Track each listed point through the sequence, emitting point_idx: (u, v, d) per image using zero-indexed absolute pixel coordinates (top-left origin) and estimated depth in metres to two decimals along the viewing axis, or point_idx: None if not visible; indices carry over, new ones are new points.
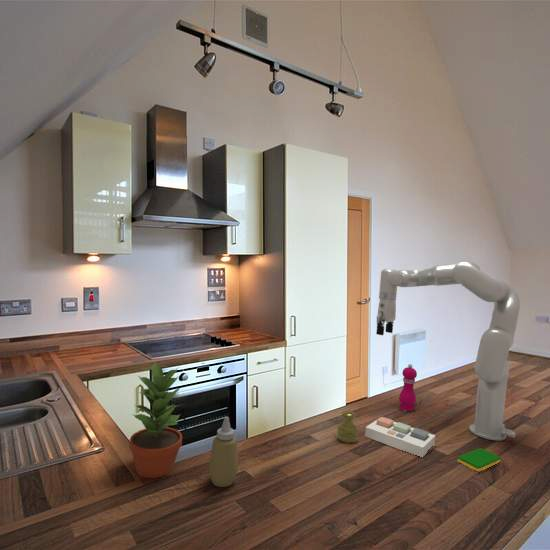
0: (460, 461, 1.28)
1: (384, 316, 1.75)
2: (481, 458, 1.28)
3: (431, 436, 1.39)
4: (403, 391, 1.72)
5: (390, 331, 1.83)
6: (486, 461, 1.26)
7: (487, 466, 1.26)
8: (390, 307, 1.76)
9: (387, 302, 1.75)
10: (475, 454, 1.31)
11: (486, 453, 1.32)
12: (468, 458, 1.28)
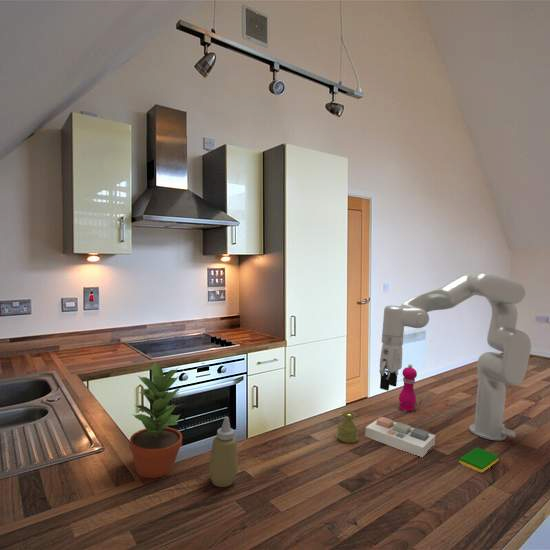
0: (462, 462, 1.27)
1: (388, 365, 1.40)
2: (481, 458, 1.28)
3: (431, 436, 1.39)
4: (403, 391, 1.72)
5: (393, 384, 1.47)
6: (487, 461, 1.27)
7: (488, 466, 1.26)
8: (395, 354, 1.42)
9: (392, 348, 1.40)
10: (475, 454, 1.31)
11: (484, 453, 1.32)
12: (469, 459, 1.27)
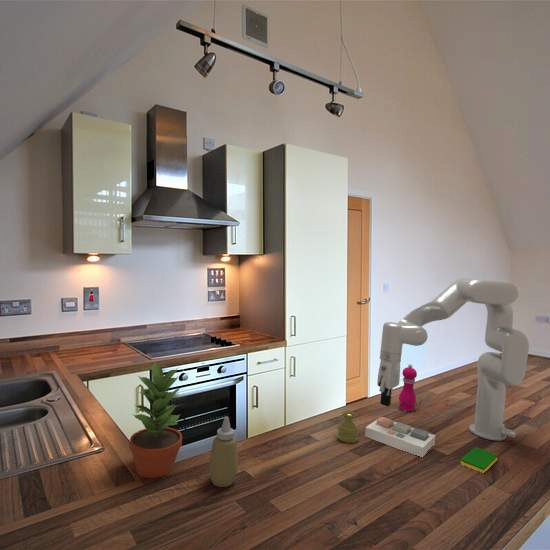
0: (463, 463, 1.26)
1: (386, 382, 1.41)
2: (482, 458, 1.28)
3: (431, 436, 1.39)
4: (403, 391, 1.72)
5: None
6: (487, 461, 1.27)
7: (489, 466, 1.26)
8: (393, 371, 1.42)
9: (390, 365, 1.41)
10: (474, 454, 1.31)
11: (484, 452, 1.32)
12: (470, 459, 1.27)
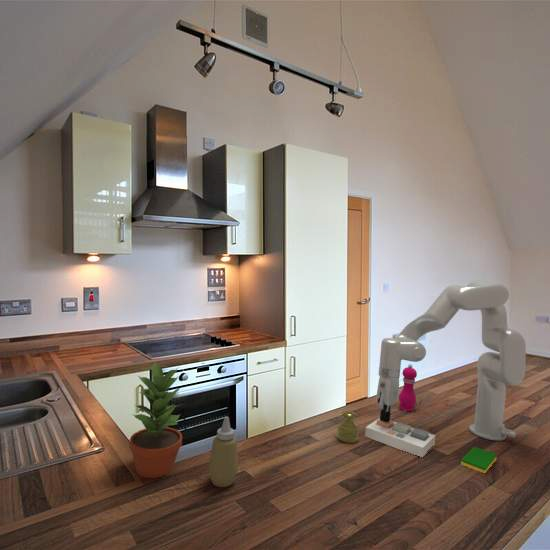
0: (464, 464, 1.26)
1: (385, 399, 1.41)
2: (482, 458, 1.28)
3: (431, 436, 1.39)
4: (403, 391, 1.72)
5: None
6: (488, 461, 1.27)
7: (489, 466, 1.26)
8: (392, 387, 1.42)
9: (389, 382, 1.41)
10: (474, 454, 1.31)
11: (483, 452, 1.33)
12: (471, 460, 1.27)
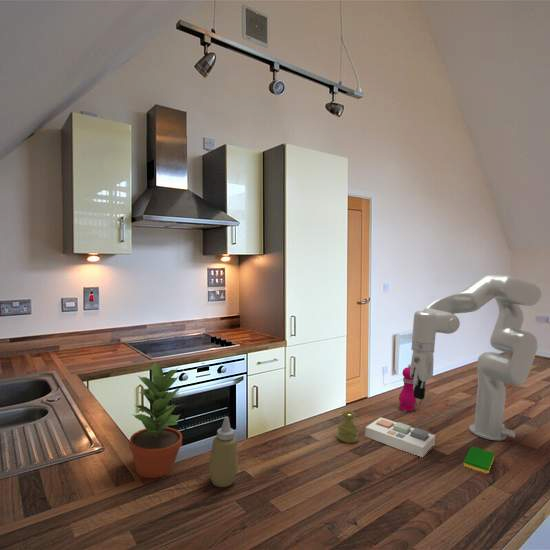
0: (467, 465, 1.25)
1: (419, 374, 1.33)
2: (482, 458, 1.28)
3: (431, 436, 1.39)
4: (403, 391, 1.72)
5: None
6: (488, 461, 1.27)
7: (490, 466, 1.26)
8: (427, 362, 1.35)
9: (423, 356, 1.33)
10: (474, 454, 1.30)
11: (481, 452, 1.33)
12: (473, 460, 1.26)
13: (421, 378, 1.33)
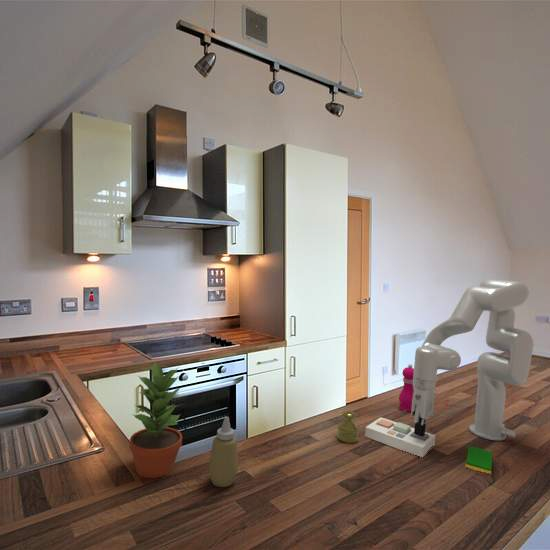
0: (469, 466, 1.25)
1: (421, 412, 1.33)
2: (482, 458, 1.28)
3: (431, 436, 1.39)
4: (403, 391, 1.72)
5: None
6: (489, 460, 1.27)
7: None
8: (428, 399, 1.34)
9: (425, 393, 1.33)
10: (474, 455, 1.30)
11: (480, 451, 1.33)
12: (474, 461, 1.26)
13: (422, 416, 1.33)
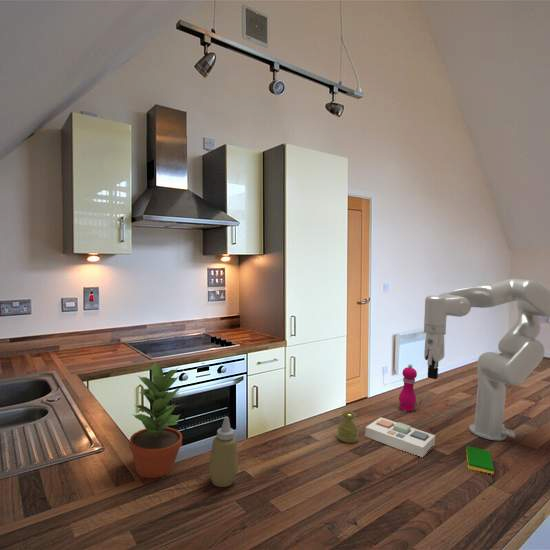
0: (472, 467, 1.24)
1: (434, 355, 1.41)
2: (482, 458, 1.28)
3: (431, 436, 1.39)
4: (403, 391, 1.72)
5: None
6: (489, 460, 1.27)
7: None
8: (440, 343, 1.42)
9: (436, 338, 1.41)
10: (474, 455, 1.30)
11: (478, 451, 1.33)
12: (476, 462, 1.26)
13: (435, 359, 1.41)
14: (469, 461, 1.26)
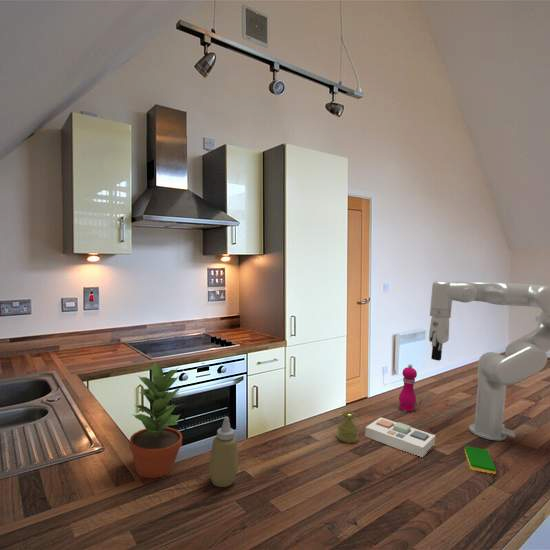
0: (474, 468, 1.24)
1: (438, 337, 1.48)
2: (483, 458, 1.29)
3: (431, 436, 1.39)
4: (403, 391, 1.72)
5: None
6: (489, 460, 1.28)
7: None
8: (444, 326, 1.50)
9: (441, 320, 1.49)
10: (474, 455, 1.30)
11: (477, 450, 1.33)
12: (478, 462, 1.25)
13: (439, 340, 1.48)
14: (471, 462, 1.25)
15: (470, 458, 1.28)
